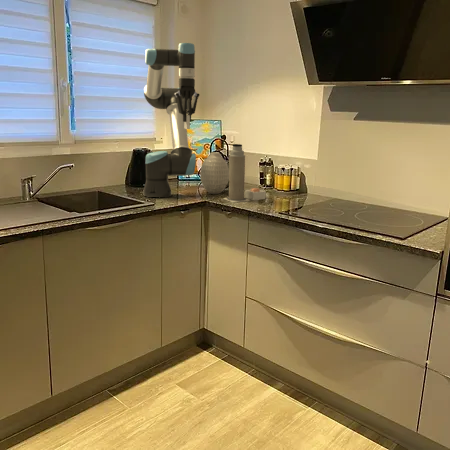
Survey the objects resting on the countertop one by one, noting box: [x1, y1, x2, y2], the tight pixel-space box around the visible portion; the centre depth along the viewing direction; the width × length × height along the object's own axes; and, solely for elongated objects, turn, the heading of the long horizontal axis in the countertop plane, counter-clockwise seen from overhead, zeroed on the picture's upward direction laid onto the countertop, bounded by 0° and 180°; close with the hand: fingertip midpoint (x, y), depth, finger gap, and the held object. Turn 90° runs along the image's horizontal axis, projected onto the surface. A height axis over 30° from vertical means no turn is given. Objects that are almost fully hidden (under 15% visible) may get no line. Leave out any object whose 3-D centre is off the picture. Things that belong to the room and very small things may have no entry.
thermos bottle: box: [228, 143, 246, 200], centre depth 239 cm, size 8×8×28 cm
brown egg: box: [250, 187, 260, 192], centre depth 247 cm, size 4×4×4 cm
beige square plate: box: [223, 197, 251, 203], centre depth 243 cm, size 10×10×1 cm
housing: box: [244, 189, 267, 201], centre depth 247 cm, size 8×8×4 cm
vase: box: [199, 151, 229, 195], centre depth 259 cm, size 16×16×22 cm
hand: (187, 128), depth 227 cm, fingers closed
